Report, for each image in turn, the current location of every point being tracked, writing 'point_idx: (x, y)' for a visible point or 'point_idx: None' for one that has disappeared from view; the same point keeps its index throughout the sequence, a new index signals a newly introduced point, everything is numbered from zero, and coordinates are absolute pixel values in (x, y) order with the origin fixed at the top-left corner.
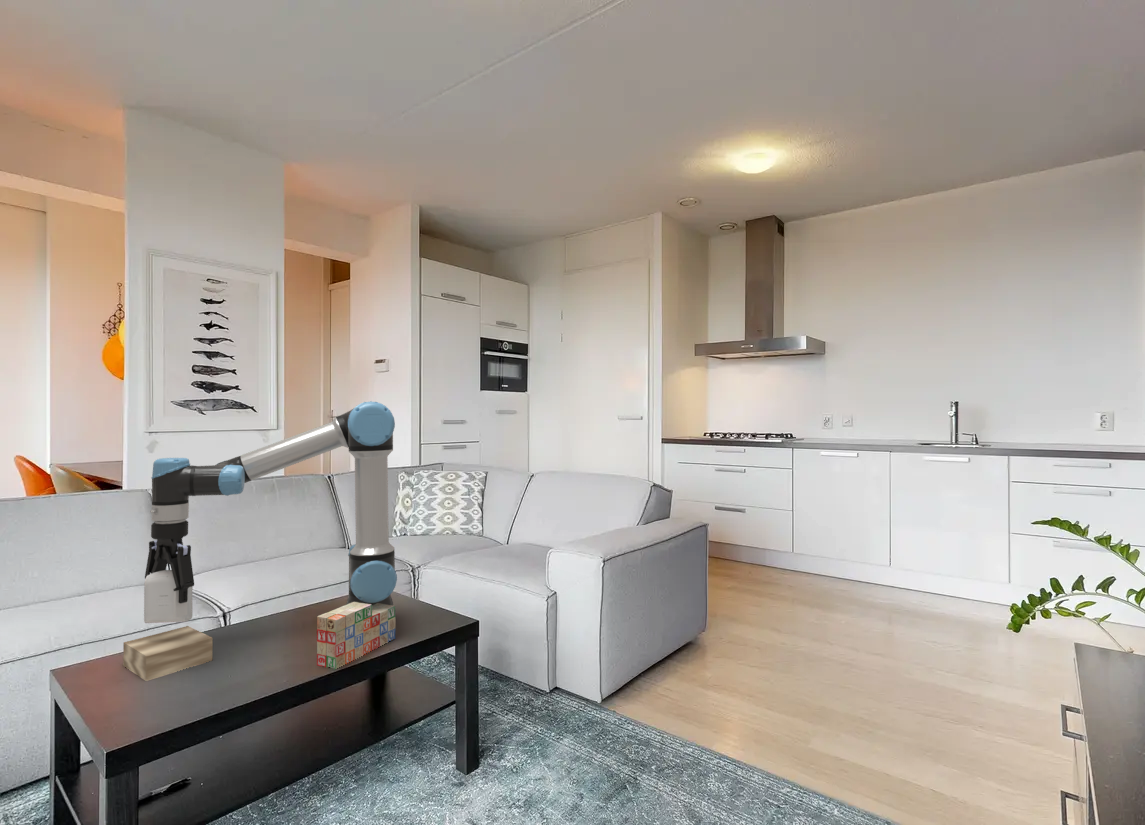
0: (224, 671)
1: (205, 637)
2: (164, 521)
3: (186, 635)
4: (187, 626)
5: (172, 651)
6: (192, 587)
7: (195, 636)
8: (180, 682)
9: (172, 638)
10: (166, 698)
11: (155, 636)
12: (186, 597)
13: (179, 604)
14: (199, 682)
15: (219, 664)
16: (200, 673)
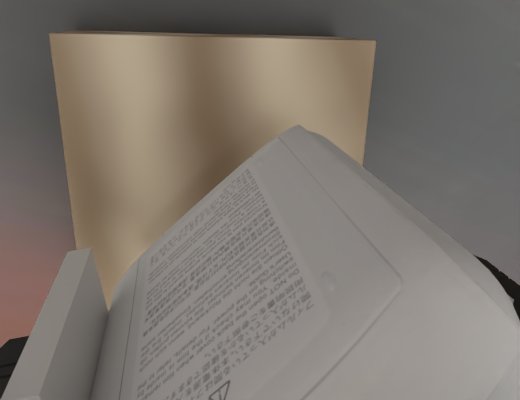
0: (474, 60)
1: (340, 62)
2: None
3: (224, 109)
4: (60, 39)
5: None
6: (375, 190)
7: (282, 87)
8: (423, 193)
9: (214, 171)
10: (490, 255)
11: (112, 213)
12: (498, 278)
13: None
14: (478, 156)
15: (398, 38)
16: (413, 123)
